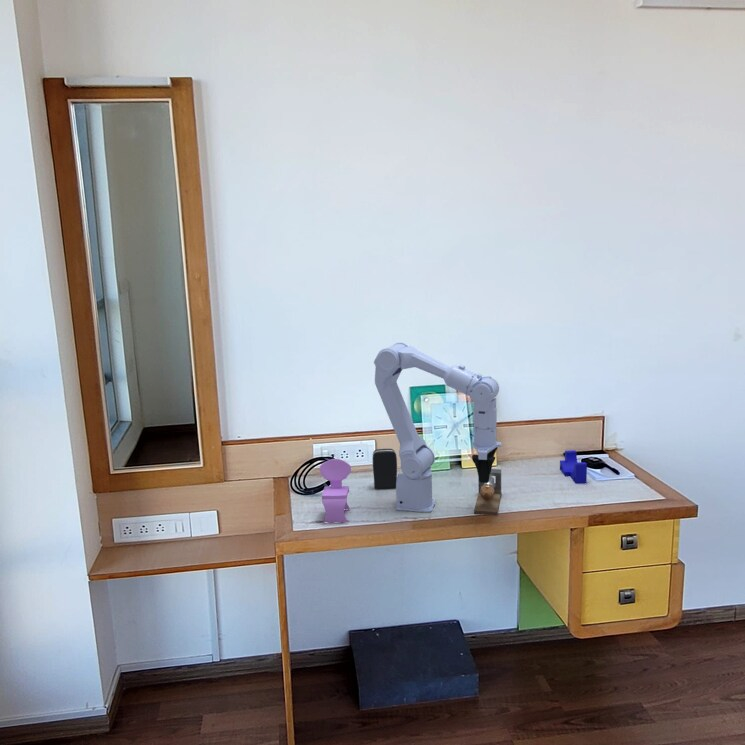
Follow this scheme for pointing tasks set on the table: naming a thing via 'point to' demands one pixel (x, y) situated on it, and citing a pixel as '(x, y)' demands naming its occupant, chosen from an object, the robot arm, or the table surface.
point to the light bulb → (487, 489)
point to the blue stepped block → (574, 467)
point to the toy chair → (335, 489)
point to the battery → (384, 468)
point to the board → (487, 505)
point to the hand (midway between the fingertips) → (485, 477)
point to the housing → (497, 481)
